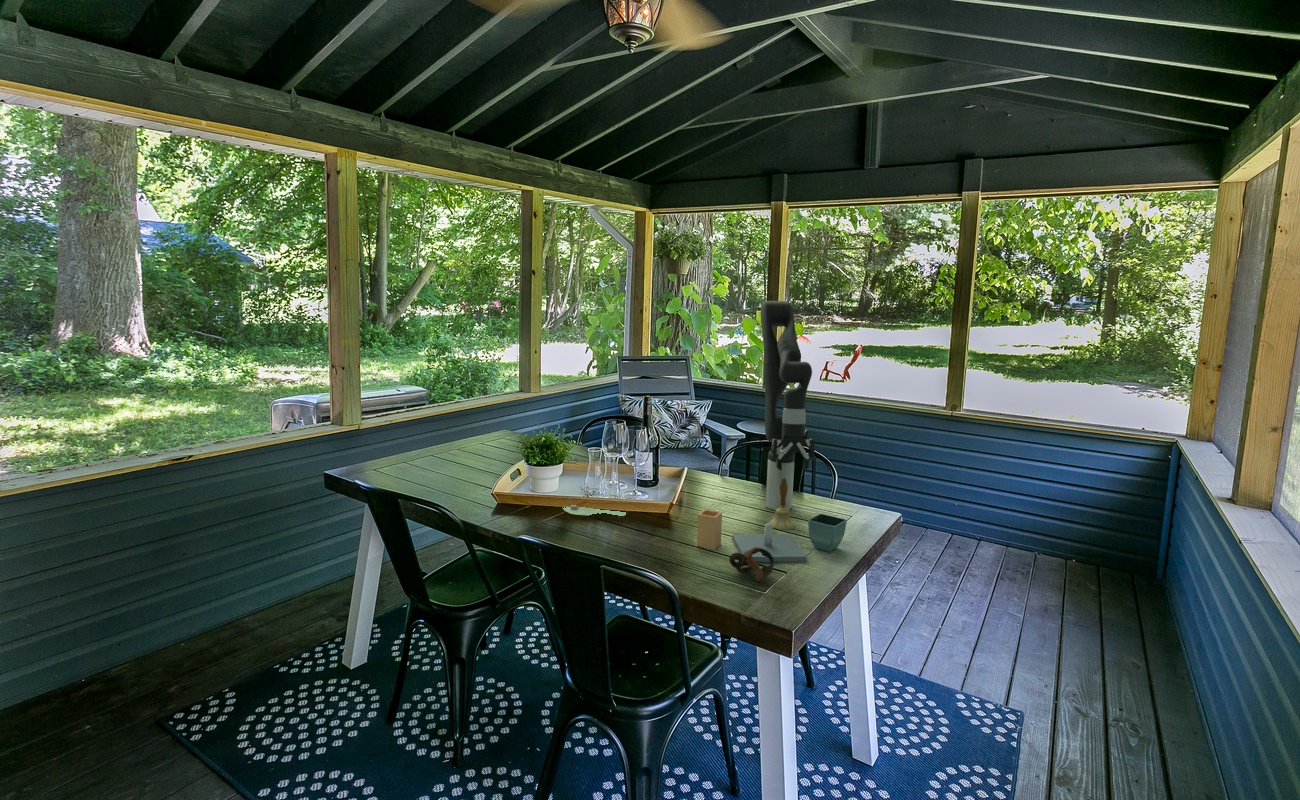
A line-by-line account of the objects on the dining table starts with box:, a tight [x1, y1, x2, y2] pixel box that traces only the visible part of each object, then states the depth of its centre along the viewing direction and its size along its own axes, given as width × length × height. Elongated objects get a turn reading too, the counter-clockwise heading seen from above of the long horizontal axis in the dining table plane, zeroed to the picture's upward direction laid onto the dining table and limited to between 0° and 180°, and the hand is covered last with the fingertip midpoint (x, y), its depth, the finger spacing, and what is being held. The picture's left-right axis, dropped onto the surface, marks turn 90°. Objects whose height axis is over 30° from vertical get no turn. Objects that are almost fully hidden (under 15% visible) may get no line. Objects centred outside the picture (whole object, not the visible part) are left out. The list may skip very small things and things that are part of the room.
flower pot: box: [807, 513, 848, 553], centre depth 199 cm, size 9×9×9 cm
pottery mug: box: [728, 547, 775, 582], centre depth 180 cm, size 12×10×8 cm
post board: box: [731, 522, 808, 563], centre depth 197 cm, size 18×18×8 cm
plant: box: [562, 483, 627, 517], centre depth 233 cm, size 25×21×9 cm
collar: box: [696, 508, 723, 551], centre depth 200 cm, size 6×6×10 cm
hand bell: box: [769, 478, 796, 531], centre depth 218 cm, size 8×8×16 cm
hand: (792, 469), depth 222 cm, fingers open, 8 cm apart
